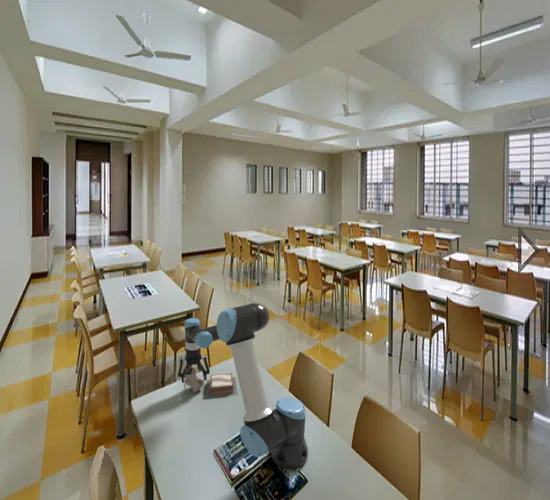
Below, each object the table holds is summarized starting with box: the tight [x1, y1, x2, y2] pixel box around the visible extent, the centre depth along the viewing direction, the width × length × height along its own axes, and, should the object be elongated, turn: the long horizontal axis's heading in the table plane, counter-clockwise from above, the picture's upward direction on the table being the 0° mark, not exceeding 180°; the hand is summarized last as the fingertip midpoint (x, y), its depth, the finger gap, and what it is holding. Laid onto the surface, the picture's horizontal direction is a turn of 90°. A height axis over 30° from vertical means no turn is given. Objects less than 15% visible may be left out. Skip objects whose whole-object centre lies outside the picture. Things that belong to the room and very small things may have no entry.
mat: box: [206, 376, 238, 399], centre depth 170 cm, size 16×16×1 cm
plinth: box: [209, 373, 234, 395], centre depth 169 cm, size 12×12×4 cm
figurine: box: [183, 365, 203, 393], centre depth 165 cm, size 9×10×15 cm
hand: (194, 386), depth 166 cm, fingers closed on figurine, 9 cm apart
